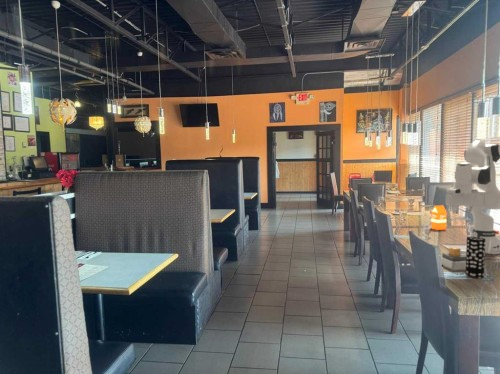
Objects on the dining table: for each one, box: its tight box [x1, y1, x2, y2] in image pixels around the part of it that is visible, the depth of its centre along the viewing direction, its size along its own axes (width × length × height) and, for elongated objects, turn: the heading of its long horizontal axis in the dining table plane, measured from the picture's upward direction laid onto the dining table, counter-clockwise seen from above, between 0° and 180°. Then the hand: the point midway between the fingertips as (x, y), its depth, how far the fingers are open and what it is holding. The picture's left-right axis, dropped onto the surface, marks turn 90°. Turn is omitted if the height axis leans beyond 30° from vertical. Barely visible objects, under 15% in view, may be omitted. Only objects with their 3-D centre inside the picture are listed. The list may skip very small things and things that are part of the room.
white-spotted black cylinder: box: [465, 236, 486, 279], centre depth 197 cm, size 8×8×20 cm
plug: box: [448, 246, 461, 257], centre depth 214 cm, size 4×4×7 cm
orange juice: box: [430, 204, 447, 231], centre depth 320 cm, size 8×9×20 cm
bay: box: [440, 252, 466, 272], centre depth 215 cm, size 18×14×7 cm
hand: (462, 213), depth 223 cm, fingers open, 8 cm apart
